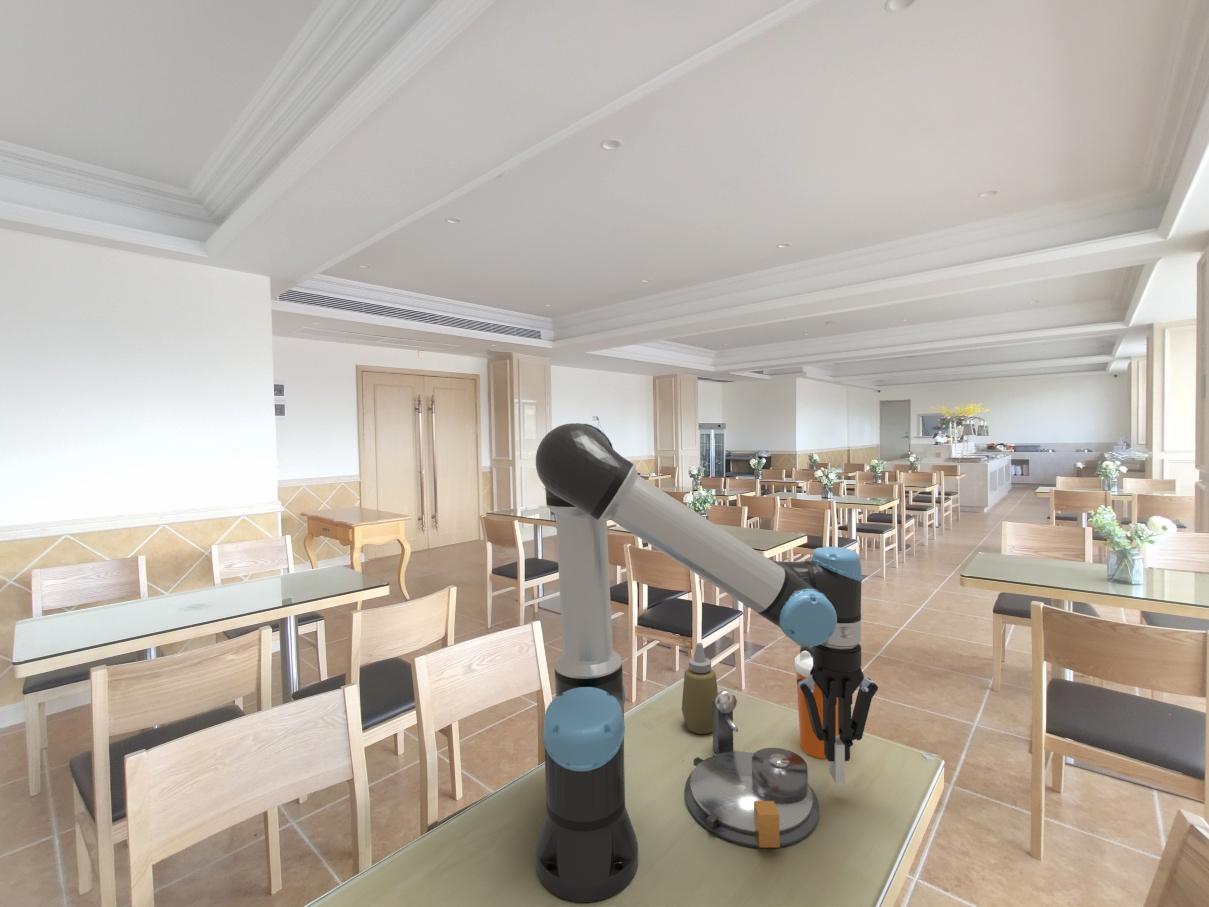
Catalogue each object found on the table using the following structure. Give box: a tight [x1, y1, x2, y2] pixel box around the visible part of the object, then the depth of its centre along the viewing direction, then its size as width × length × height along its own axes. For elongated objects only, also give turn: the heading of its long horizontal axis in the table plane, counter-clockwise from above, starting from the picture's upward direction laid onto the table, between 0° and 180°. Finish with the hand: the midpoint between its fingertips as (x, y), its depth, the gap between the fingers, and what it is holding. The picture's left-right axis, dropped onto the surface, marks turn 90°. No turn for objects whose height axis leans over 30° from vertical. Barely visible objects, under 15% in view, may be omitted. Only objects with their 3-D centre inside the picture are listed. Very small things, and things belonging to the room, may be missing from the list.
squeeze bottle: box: [681, 642, 719, 735], centre depth 117 cm, size 8×8×18 cm
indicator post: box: [712, 689, 739, 755], centre depth 106 cm, size 4×8×13 cm, turn 10°
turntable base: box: [684, 769, 820, 850], centre depth 94 cm, size 22×22×1 cm
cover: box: [752, 747, 809, 804], centre depth 94 cm, size 9×9×5 cm
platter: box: [690, 751, 813, 847], centre depth 93 cm, size 20×22×5 cm
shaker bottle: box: [794, 645, 839, 760], centre depth 108 cm, size 9×9×20 cm
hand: (837, 777), depth 94 cm, fingers closed
